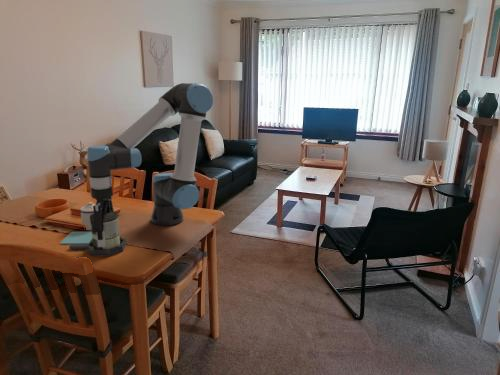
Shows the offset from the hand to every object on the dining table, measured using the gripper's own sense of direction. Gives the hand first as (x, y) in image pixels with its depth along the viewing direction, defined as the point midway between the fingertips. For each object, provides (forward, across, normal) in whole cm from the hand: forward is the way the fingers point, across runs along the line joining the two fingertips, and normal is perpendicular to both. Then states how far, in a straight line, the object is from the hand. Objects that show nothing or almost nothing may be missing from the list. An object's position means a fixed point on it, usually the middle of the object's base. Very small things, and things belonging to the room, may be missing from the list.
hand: (106, 240), depth 142 cm
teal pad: (+3, -10, -14) cm, 18 cm away
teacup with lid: (+4, -24, -13) cm, 28 cm away
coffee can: (+3, 0, 0) cm, 3 cm away
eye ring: (+3, 0, -4) cm, 5 cm away
